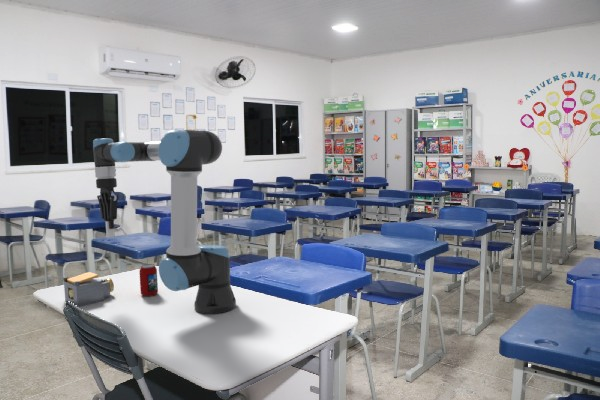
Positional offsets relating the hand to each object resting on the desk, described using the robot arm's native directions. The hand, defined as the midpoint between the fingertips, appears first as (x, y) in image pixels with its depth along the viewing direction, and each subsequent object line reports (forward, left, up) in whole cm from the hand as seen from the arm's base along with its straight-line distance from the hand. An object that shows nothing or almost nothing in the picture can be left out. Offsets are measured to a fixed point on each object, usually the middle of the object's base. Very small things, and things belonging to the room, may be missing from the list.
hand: (110, 236), depth 194 cm
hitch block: (+5, +8, -25) cm, 26 cm away
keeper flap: (+5, +10, -16) cm, 19 cm away
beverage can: (-8, -11, -25) cm, 28 cm away
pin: (+5, +7, -24) cm, 25 cm away
